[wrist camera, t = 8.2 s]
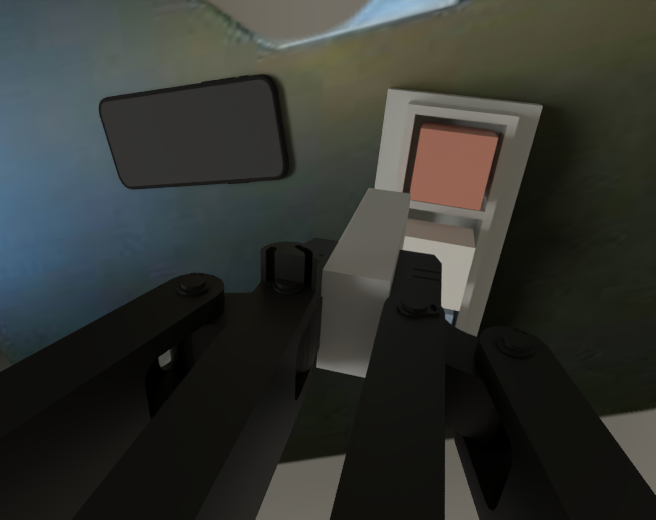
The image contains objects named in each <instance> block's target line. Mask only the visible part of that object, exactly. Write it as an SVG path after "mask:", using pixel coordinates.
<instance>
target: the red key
mask: <svg viewBox="0 0 656 520" xmlns="http://www.w3.org/2000/svg"><path fill="white" fill-rule="evenodd" d="M497 141H498V137H497V135H496V133H495V132H494V130H491V129H483V128H475V127H467V126H458V125H450V124H442V123H434V122H426V121H424V122H423V124H422V127H421V131H420V136H419V142H418V148H417V154H416V159H415V165H414V171H413V177H412V182H411V188H410V193H411V200H416V201H422V202H428V203H435V204H441V205H448V206H454V207H460V208H467V209H473V210H480V208H481V204H482V200H483V196H484V192H485V188H486V184H487V180H488V177H489V173H490V169H491V165H492V161H493V157H494V153H495V149H496V145H497Z"/></svg>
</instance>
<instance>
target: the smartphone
mask: <svg viewBox="0 0 656 520" xmlns="http://www.w3.org/2000/svg"><path fill="white" fill-rule="evenodd" d="M99 114H100V118H101V121H102V124H103V128H104V131H105V134H106V137H107V141H108V144H109V147H110V150H111V154H112V157H113V160H114V163H115V167H116V170H117V173H118V176H119V178H120V180H121V182H122V184H123V185H124V186H125V187H127V188H129V189H147V188H162V187H177V186H192V185H207V184H223V183H228V184H235V183H248V182H252V181H267V180H278V179H281V178H283V177H284V176H285V175H286V174H287V171H288V166H289V162H288V156H287V149H286V143H285V137H284V130H283V124H282V117H281V111H280V104H279V97H278V91H277V88H276V85H275V83H274V81H273V80H272V79H271V78H270V77H269V76H266V75H261V74H260V75H253V76H248V75H246V76H240V77H239V78H234V77H233V78H226V79H220V80H219V81H217V80H212V81H206V82H201V83H199V84H192V85H185V86H178V87H172V88H165V89H158V90H152V91H145V92H138V93H132V94H125V95H118V96H112V97H106V98H104V99H102V100H101V101H100V104H99Z"/></svg>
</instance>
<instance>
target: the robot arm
mask: <svg viewBox="0 0 656 520" xmlns="http://www.w3.org/2000/svg"><path fill="white" fill-rule="evenodd" d="M410 200H411V193H403V192H395V191H388V190H380V189H372V188H368V190H367V192H366V194H365V196H364V197H363V199H362V201H361V203H360V204H359V206H358V208H357V210H356V212H355V213H354V215H353V217H352V219H351V220H350V222H349V224H348V226H347V228H346V229H345V231H344V233H343V235H342V236H341V238H340V240H339V241H334V240H327V239H321V238H315V239H313V240H310V241H308V242H306V243H305V244H302V243H298V242H278V243H273V244H270V245H267V246H265V247H264V248H262V249H261V282H260V284H259V285H258V286H257V287H256V289H255V290H254V291H253V292H251V293H224V284H223V282H222V280H221V279H219V278H217V277H216V276H214V275H209V274H205V273H190V274H186V275H181V276H179V277H176V278H173V279H171V280H169V281H167V282H166V283H164V284H162V285H160V286H158V287H156V288H154V289H153V290H151V291H149V292H147V293H145V294H143V295H142V296H140V297H138V298H136V299H134V300H132V301H130V302H129V303H127V304H125V305H123V306H121V307H119V308H118V309H116V310H114V311H112V312H110V313H108V314H106V315H105V316H103V317H101V318H99V319H97V320H95V321H94V322H92V323H90V324H88V325H86V326H84V327H82V328H81V329H79V330H77V331H75V332H73V333H71V334H70V335H68V336H66V337H64V338H62V339H60V340H58V341H57V342H55V343H53V344H51V345H49V346H47V347H46V348H44V349H42V350H40V351H38V352H36V353H34V354H33V355H31V356H29V357H27V358H25V359H23V360H22V361H20V362H18V363H16V364H14V365H12V366H11V367H9V368H7V369H5V370H3V371H1V372H0V520H255V519H256V516H257V514H258V511H259V509H260V507H261V504H262V502H263V499H264V496H265V494H266V491H267V489H268V486H269V484H270V482H271V479H272V476H273V474H274V472H275V469H276V467H277V464H278V462H279V459H280V457H281V454H282V452H283V449H284V447H285V444H286V442H287V440H288V437H289V435H290V432H291V430H292V427H293V425H294V422H295V420H296V417H297V415H298V412H299V410H300V407H301V405H302V402H303V400H304V397H305V395H306V392H307V390H308V387H309V385H310V382H311V376H312V363H313V361H314V359H315V356H316V354H317V366H316V367H317V368H322V369H327V370H331V371H336V372H341V373H346V374H350V375H355V376H360V377H364V378H365V381H364V385H363V389H362V393H361V397H360V401H359V405H358V409H357V413H356V417H355V421H354V425H353V429H352V433H351V437H350V441H349V445H348V449H347V453H346V457H345V461H344V465H343V469H342V473H341V477H340V481H339V485H338V489H337V493H336V497H335V501H334V505H333V509H332V513H331V517H330V520H445V427H447V428H449V429H451V430H453V431H454V440H455V444H456V447H457V450H458V453H459V457H460V460H461V463H462V466H463V469H464V472H465V476H466V479H467V482H468V485H469V488H470V491H471V494H472V498H473V500H474V504H475V507H476V510H477V513H478V516H479V520H656V495H655V494H654V492H653V491H652V490H651V488H650V487H649V485H648V484H647V483H646V481H645V480H644V479H643V477H642V476H641V474H640V473H639V472H638V470H637V469H636V468H635V466H634V465H633V463H632V462H631V461H630V459H629V458H628V456H627V455H626V454H625V452H624V451H623V450H622V448H621V447H620V446H619V444H618V443H617V441H616V440H615V439H614V437H613V436H612V434H611V433H610V432H609V430H608V429H607V428H606V426H605V425H604V423H603V422H602V421H601V419H600V418H599V416H598V415H597V414H596V412H595V411H594V410H593V408H592V407H591V405H590V404H589V403H588V401H587V400H586V399H585V397H584V396H583V394H582V393H581V392H580V390H579V389H578V387H577V386H576V385H575V383H574V382H573V381H572V379H571V378H570V376H569V375H568V374H567V372H566V371H565V370H564V368H563V367H562V365H561V364H560V363H559V361H558V360H557V358H556V357H555V356H554V354H553V353H552V352H551V350H550V349H549V347H548V346H547V345H545V344H544V343H543V342H542V341H541V340H540V339H539V338H537V337H535V336H534V335H532V334H530V333H529V332H527V331H524V330H520V329H519V328H515V327H507V326H492V327H489V328H487V329H484V330H483V331H482V333H481V334H480V336H479V337H476V336H474V335H471V334H468V333H466V332H464V331H462V330H459V329H458V328H456V327H455V326H453V325H451V324H450V323H449V322H448V321H447V320H446V319H445V312H444V309H443V307H442V306H441V289H442V282H441V281H442V263H441V262H440V261H439V260H438V258H437V257H436V256H435V255H432V254H426V253H420V252H413V251H407V250H403V245H404V239H405V232H406V226H407V219H408V213H409V206H410ZM168 350H170V356H171V361H170V362H169V363H167V364H166V365H164V366H162V367H160V365H159V357H160V356H161V355H163V354H164V353H166V352H167V351H168Z"/></svg>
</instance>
